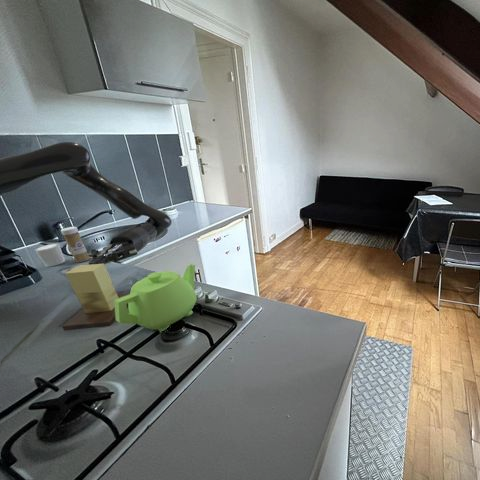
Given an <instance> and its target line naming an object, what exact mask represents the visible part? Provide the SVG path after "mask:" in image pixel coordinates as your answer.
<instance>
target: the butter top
mask: <svg viewBox="0 0 480 480" xmlns="http://www.w3.org/2000/svg"><path fill="white" fill-rule="evenodd" d="M74 267H75V268H74ZM74 267H72V268H73V269H72V270H70V271H68V272H67V273H65V274H66V277H67V280H68V282H69V284H70V285H71V288H72V290H73V292H74V294H75V295H76V294H81V293H92V292H102V291H104V290H105V289H106V288H107V287H109V286H110V285H111V284H113V280H112V279H111V276H110V273H109V272H108V269H107V267H106V264H92V265H87V264H82V265H81V264H80V265H76V266H74Z"/></svg>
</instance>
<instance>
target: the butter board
mask: <svg viewBox="0 0 480 480" xmlns="http://www.w3.org/2000/svg"><path fill="white" fill-rule="evenodd" d="M129 294H130V292H122V293H117V290H116V288H115V286H114V284H113V283H112V284H111V285H110V286H109V287H107V288H106V289H105V290H104V291H102V292H92V293H81V294H75V295H76V298H77V299H78V302H79V303H80V305H81V307H82V309H81V310H80V311H79V312H77V313H76V314H74V315H73V316H72V317H71V318H70V319H69V320H67V321H66V322H65V323H64V324H63V325H61V327H62V330H64V331H66V330H67V331H68V330H78V329H88V328H98V327H99V328H100V327H109V326H111V325H112V324H113V323H114V322H115V321H116V317H115V302H114V300H116V299H118V298H121V297H124V296H126V295H129ZM126 305H127V309H129V308H128V303H127V304H126Z"/></svg>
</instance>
